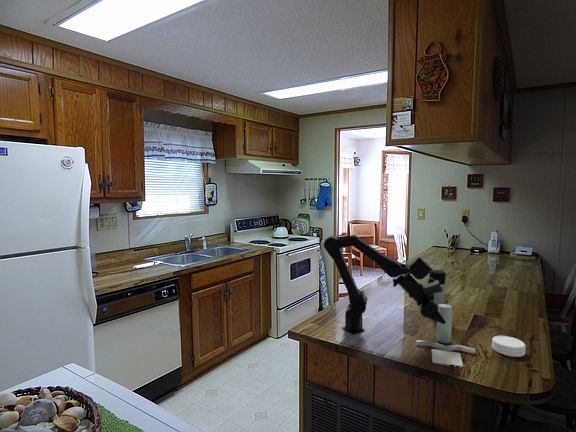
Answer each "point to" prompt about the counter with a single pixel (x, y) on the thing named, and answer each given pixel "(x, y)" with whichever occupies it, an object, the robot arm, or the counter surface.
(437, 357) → the tile
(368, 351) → the counter surface
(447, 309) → the sage peg
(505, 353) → the white thick disc
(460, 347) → the bent wire
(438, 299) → the spray can
